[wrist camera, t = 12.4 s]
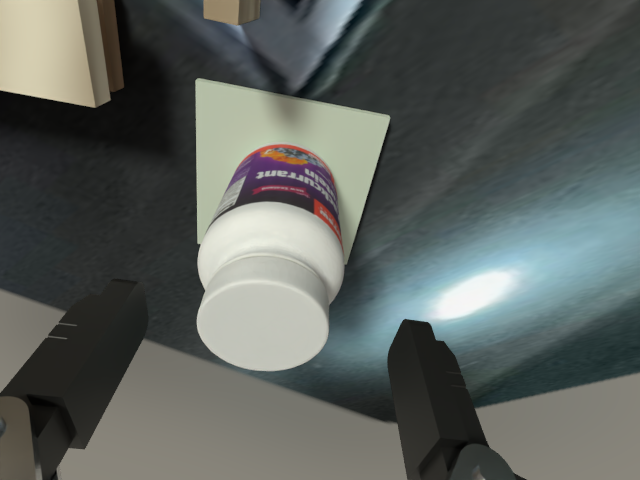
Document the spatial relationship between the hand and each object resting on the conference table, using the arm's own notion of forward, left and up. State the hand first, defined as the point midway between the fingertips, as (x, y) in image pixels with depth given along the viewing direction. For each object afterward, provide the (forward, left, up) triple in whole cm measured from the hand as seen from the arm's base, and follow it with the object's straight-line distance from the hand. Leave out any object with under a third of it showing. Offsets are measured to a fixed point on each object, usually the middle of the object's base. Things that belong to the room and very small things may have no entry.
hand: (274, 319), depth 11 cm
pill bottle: (0, 0, -9) cm, 9 cm away
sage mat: (0, 0, -10) cm, 10 cm away
